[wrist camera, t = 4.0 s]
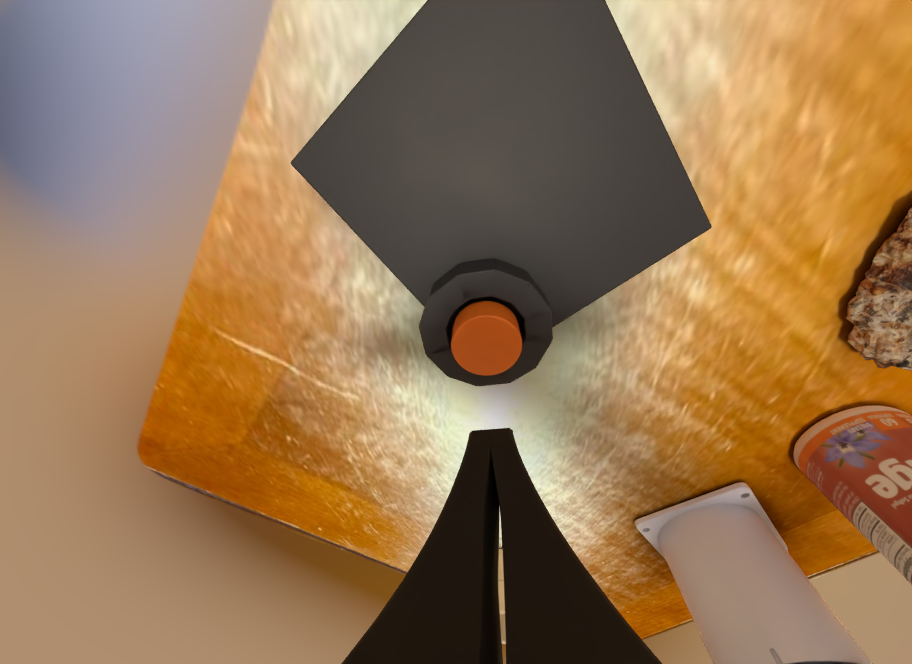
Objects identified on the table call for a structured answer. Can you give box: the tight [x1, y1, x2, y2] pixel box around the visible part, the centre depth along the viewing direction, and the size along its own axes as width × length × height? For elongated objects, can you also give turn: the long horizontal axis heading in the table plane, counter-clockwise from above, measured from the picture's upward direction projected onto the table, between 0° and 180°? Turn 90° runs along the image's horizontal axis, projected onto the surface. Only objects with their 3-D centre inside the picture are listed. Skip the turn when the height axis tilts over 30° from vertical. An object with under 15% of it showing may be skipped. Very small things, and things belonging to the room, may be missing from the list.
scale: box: [291, 0, 711, 386], centre depth 14 cm, size 14×13×3 cm
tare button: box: [451, 301, 522, 376], centre depth 15 cm, size 3×3×2 cm
